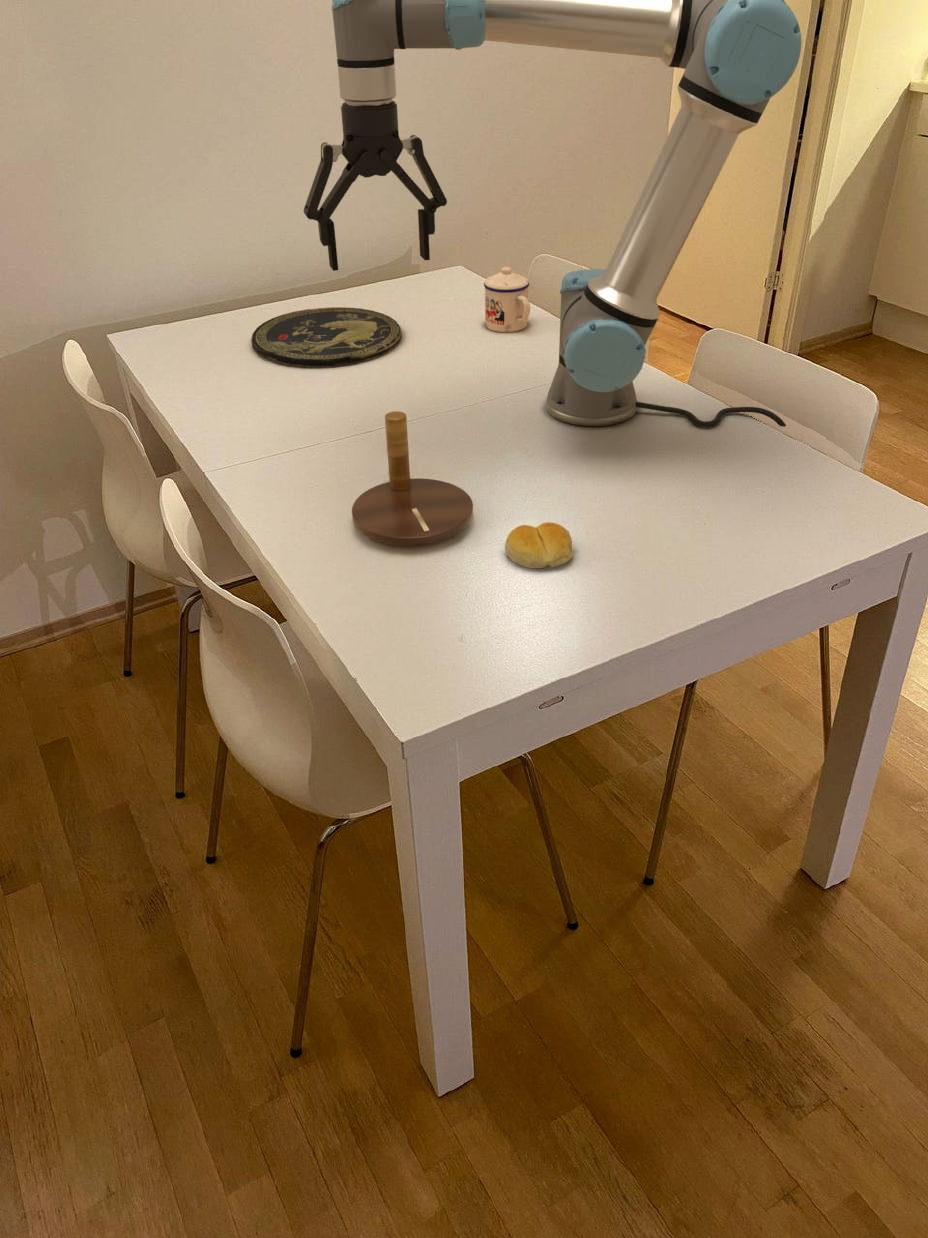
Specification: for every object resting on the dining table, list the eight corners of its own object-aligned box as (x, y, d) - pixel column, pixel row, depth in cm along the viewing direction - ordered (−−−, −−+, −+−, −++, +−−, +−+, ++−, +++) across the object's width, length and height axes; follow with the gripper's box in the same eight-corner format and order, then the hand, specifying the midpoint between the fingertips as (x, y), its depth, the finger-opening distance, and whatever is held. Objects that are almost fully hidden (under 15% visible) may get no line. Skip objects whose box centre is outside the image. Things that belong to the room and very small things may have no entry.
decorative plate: (227, 354, 192) (280, 302, 216) (228, 363, 193) (281, 311, 217) (379, 364, 187) (416, 309, 211) (379, 373, 188) (417, 318, 212)
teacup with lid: (475, 323, 208) (474, 266, 201) (511, 314, 212) (511, 258, 205) (509, 340, 200) (510, 281, 193) (546, 330, 204) (547, 272, 197)
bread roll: (501, 541, 138) (501, 516, 135) (565, 536, 138) (566, 510, 136) (510, 574, 131) (510, 547, 129) (578, 568, 132) (579, 542, 129)
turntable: (489, 532, 137) (489, 450, 130) (368, 555, 133) (361, 472, 126) (452, 477, 150) (449, 400, 143) (340, 496, 146) (332, 419, 139)
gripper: (450, 89, 140) (454, 246, 152) (271, 103, 134) (290, 264, 147) (466, 97, 134) (469, 260, 147) (279, 112, 128) (299, 279, 141)
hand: (379, 262), depth 147 cm, fingers open, 13 cm apart
